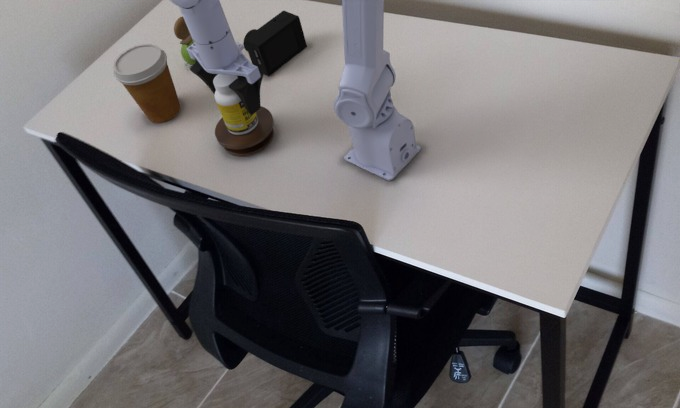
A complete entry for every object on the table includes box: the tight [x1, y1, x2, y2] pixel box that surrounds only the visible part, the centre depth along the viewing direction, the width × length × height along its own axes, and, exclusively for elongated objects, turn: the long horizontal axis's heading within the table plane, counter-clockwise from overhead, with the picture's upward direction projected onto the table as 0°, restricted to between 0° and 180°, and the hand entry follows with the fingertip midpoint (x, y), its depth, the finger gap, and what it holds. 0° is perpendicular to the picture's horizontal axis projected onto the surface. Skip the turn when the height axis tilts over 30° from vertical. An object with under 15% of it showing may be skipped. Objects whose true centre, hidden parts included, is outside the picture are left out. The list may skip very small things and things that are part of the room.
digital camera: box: [243, 10, 308, 78], centre depth 126 cm, size 10×5×7 cm, turn 136°
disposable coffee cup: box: [112, 43, 182, 124], centre depth 120 cm, size 10×10×12 cm
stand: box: [214, 105, 275, 158], centre depth 113 cm, size 10×10×3 cm
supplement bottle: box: [213, 74, 258, 135], centre depth 109 cm, size 5×5×10 cm
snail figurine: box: [173, 16, 196, 66], centre depth 128 cm, size 5×6×12 cm
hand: (239, 103), depth 110 cm, fingers open, 7 cm apart
